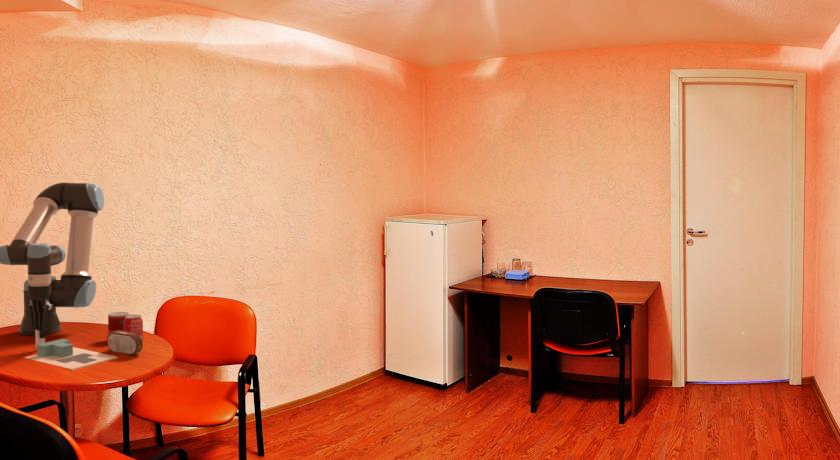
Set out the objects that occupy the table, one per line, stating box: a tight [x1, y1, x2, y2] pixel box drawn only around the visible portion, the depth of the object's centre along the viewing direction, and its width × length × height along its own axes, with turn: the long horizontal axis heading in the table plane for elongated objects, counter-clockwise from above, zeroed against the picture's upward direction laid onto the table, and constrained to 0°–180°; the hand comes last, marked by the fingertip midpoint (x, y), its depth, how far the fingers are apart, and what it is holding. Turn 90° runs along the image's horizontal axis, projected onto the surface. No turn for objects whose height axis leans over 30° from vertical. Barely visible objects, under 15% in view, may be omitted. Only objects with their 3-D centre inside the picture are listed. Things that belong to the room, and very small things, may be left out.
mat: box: [24, 346, 118, 371], centre depth 229 cm, size 18×26×1 cm
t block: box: [36, 338, 74, 358], centre depth 232 cm, size 10×10×4 cm
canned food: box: [107, 311, 130, 336], centre depth 256 cm, size 8×8×11 cm
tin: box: [106, 330, 143, 356], centre depth 238 cm, size 15×3×8 cm, turn 71°
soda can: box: [123, 314, 144, 343], centre depth 248 cm, size 7×7×12 cm
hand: (40, 346), depth 236 cm, fingers closed
